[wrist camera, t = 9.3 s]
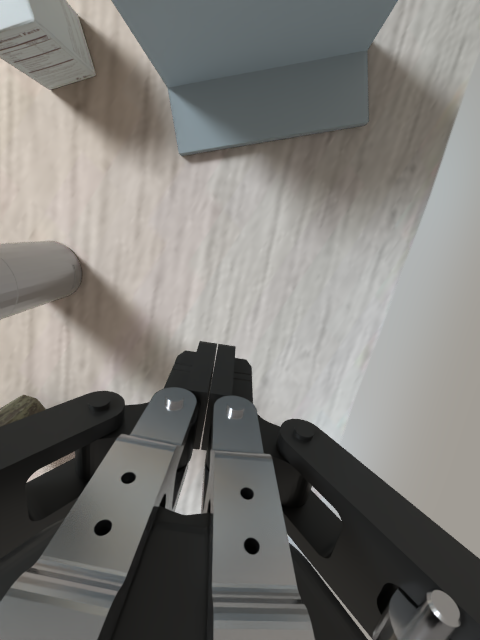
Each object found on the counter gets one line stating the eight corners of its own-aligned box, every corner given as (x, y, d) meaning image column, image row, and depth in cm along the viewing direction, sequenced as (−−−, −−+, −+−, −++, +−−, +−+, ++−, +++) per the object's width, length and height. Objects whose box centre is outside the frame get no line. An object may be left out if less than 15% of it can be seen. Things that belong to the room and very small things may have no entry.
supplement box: (28, 30, 42) (-65, -51, 30) (79, 14, 41) (4, -76, 29) (49, 92, 44) (-31, 40, 32) (97, 78, 43) (35, 19, 31)
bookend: (181, 155, 45) (114, 92, 24) (167, 72, 42) (76, -84, 21) (364, 125, 43) (468, 25, 22) (363, 34, 40) (480, -183, 19)
